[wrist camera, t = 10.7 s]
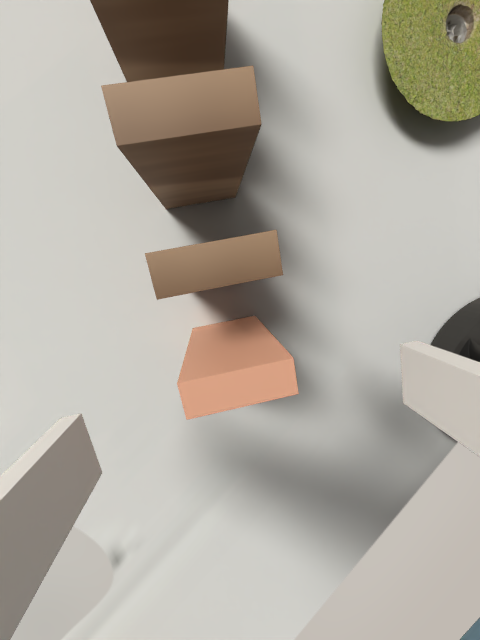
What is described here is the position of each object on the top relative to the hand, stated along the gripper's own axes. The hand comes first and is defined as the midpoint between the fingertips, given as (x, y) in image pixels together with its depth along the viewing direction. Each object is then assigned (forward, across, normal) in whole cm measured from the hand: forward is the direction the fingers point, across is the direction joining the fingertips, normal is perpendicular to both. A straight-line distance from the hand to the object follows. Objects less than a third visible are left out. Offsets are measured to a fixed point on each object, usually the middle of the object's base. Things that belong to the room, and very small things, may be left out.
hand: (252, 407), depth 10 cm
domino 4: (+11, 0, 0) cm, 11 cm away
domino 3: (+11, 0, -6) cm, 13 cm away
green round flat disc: (+11, -19, -18) cm, 28 cm away
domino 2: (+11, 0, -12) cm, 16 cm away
